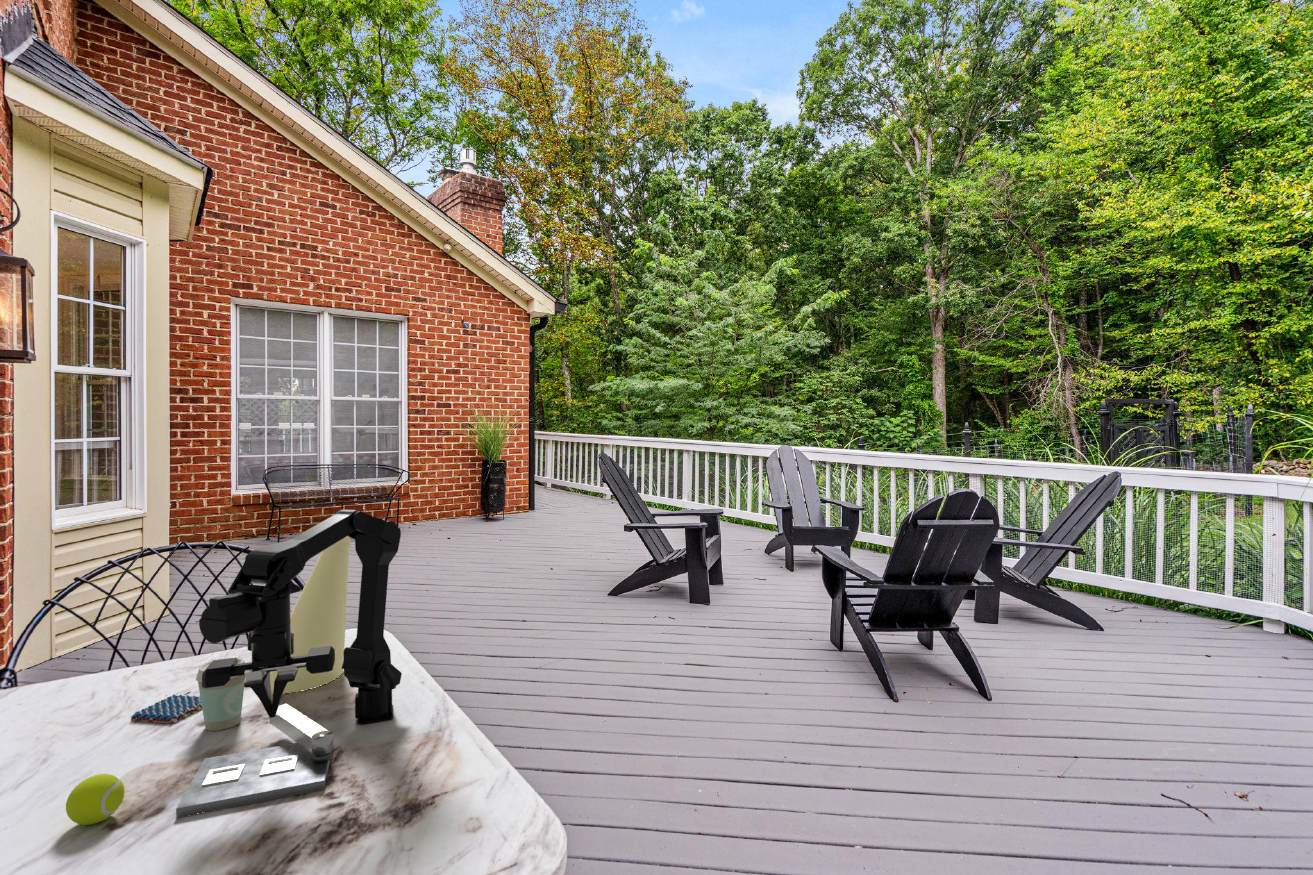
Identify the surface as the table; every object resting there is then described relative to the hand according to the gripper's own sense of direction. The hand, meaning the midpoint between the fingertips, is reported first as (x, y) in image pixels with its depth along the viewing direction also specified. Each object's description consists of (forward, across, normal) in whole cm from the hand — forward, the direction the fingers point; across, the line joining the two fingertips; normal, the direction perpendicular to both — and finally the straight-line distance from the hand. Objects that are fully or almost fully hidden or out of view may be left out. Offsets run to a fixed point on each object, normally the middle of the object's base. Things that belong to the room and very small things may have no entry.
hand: (272, 716), depth 110 cm
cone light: (+10, -1, -45) cm, 46 cm away
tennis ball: (+10, +23, +4) cm, 25 cm away
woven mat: (+11, +24, -37) cm, 45 cm away
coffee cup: (+10, +12, -26) cm, 31 cm away
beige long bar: (+7, -3, -8) cm, 11 cm away
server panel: (+10, +2, 0) cm, 10 cm away
